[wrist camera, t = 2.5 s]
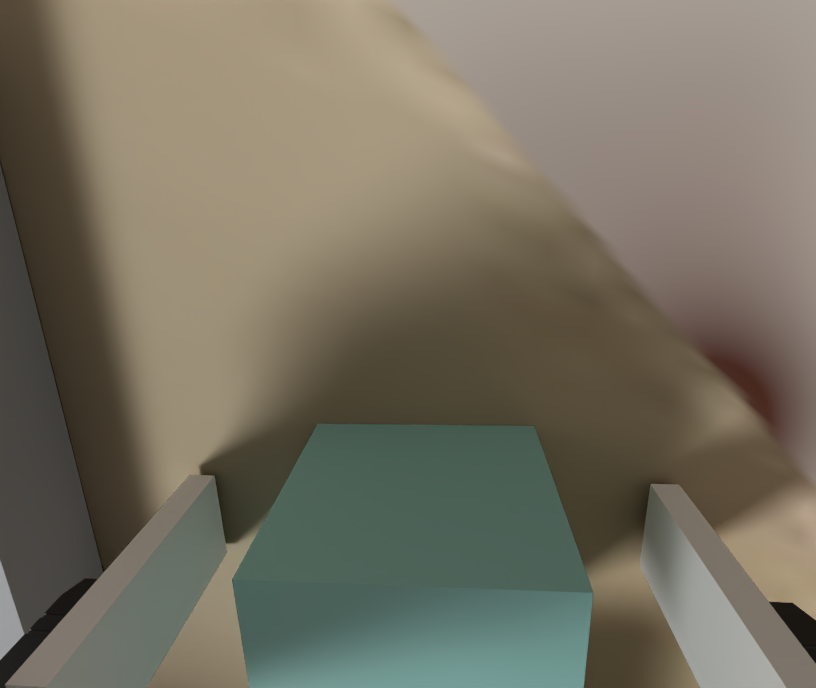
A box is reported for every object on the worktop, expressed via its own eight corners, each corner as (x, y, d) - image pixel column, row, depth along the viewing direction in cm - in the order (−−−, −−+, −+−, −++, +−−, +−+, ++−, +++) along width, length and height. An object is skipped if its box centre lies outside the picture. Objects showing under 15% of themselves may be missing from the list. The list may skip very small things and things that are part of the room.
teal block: (524, 600, 16) (567, 839, 10) (333, 593, 16) (270, 816, 10) (534, 424, 14) (593, 592, 8) (318, 422, 14) (231, 579, 9)
